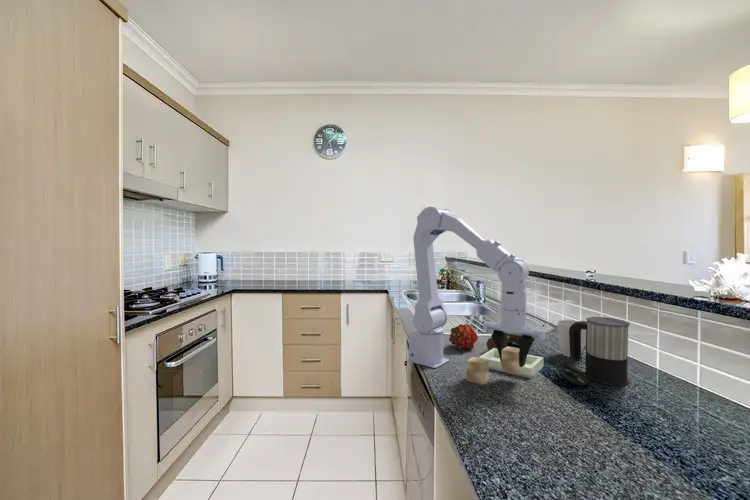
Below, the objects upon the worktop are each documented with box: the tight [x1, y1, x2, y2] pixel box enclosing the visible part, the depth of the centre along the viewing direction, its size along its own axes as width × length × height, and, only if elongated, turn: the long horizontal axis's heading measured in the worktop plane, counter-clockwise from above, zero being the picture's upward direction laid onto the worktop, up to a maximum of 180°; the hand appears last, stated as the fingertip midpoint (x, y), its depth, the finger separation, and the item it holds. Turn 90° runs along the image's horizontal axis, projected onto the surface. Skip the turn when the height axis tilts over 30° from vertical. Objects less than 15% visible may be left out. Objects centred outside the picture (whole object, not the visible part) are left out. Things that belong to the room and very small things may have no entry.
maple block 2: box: [502, 345, 524, 374], centre depth 88 cm, size 4×4×5 cm
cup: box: [556, 319, 586, 358], centre depth 107 cm, size 8×8×10 cm
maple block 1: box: [466, 356, 490, 386], centre depth 88 cm, size 4×4×5 cm
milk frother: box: [556, 316, 631, 387], centre depth 88 cm, size 14×16×15 cm
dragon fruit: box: [448, 323, 479, 351], centre depth 115 cm, size 8×8×12 cm
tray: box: [477, 348, 545, 379], centre depth 98 cm, size 14×11×2 cm
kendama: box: [486, 334, 522, 351], centre depth 117 cm, size 6×10×20 cm
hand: (512, 363), depth 88 cm, fingers closed on maple block 2, 4 cm apart
